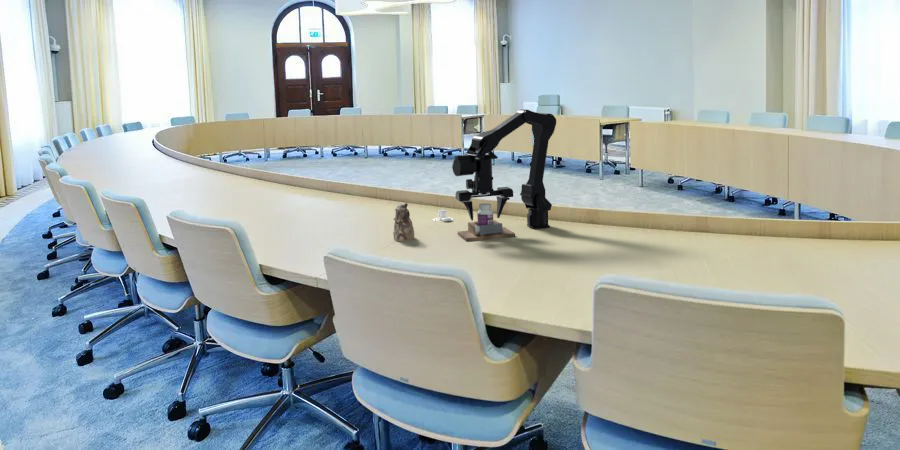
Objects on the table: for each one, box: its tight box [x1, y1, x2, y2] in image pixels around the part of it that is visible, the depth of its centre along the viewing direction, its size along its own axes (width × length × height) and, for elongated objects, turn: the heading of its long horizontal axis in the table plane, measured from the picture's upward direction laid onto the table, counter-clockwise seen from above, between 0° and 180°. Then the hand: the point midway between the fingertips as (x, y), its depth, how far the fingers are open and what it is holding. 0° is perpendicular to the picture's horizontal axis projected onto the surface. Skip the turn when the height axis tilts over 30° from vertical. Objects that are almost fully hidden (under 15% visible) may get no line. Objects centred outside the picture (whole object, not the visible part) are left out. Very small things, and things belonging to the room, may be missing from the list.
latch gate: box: [475, 222, 503, 235], centre depth 229 cm, size 9×2×3 cm, turn 105°
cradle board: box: [457, 219, 516, 242], centre depth 233 cm, size 17×11×4 cm, turn 104°
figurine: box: [392, 202, 415, 242], centre depth 232 cm, size 7×7×12 cm
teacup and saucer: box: [432, 209, 454, 223], centre depth 262 cm, size 9×8×4 cm
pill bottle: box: [477, 202, 494, 225], centre depth 233 cm, size 5×5×10 cm
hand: (485, 219), depth 233 cm, fingers open, 9 cm apart
